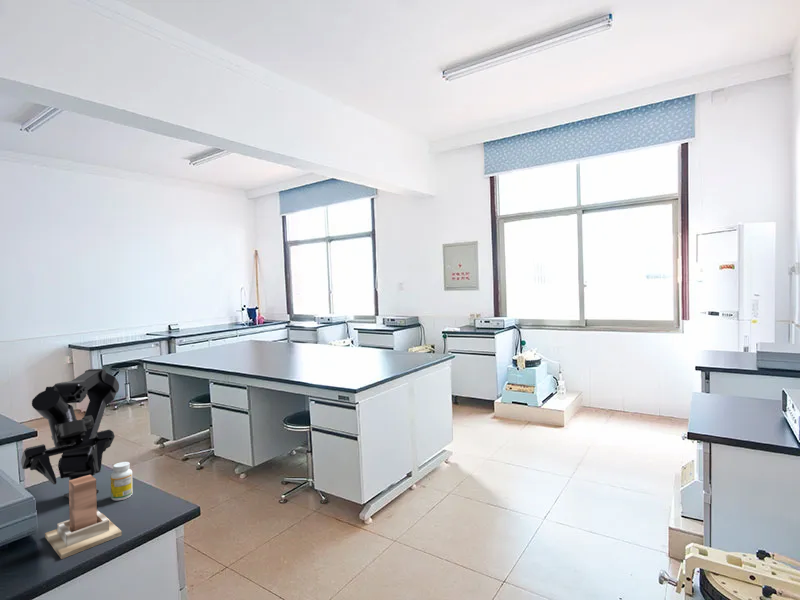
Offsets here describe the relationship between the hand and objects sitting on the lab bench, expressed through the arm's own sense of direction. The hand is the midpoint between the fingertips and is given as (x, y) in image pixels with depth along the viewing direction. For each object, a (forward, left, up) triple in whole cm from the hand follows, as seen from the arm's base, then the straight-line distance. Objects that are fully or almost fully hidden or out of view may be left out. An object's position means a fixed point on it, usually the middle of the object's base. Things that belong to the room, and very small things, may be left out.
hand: (78, 477), depth 108 cm
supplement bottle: (-9, +15, -14) cm, 22 cm away
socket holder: (+4, -1, -13) cm, 14 cm away
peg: (+4, -1, -12) cm, 13 cm away
